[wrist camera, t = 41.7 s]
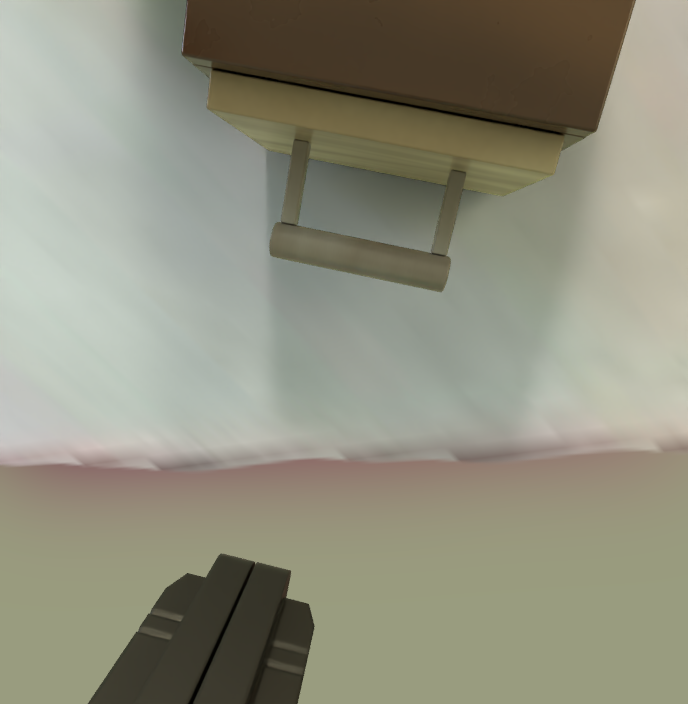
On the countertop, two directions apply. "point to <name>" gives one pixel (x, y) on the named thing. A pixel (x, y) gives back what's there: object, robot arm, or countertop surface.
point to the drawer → (378, 164)
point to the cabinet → (427, 52)
